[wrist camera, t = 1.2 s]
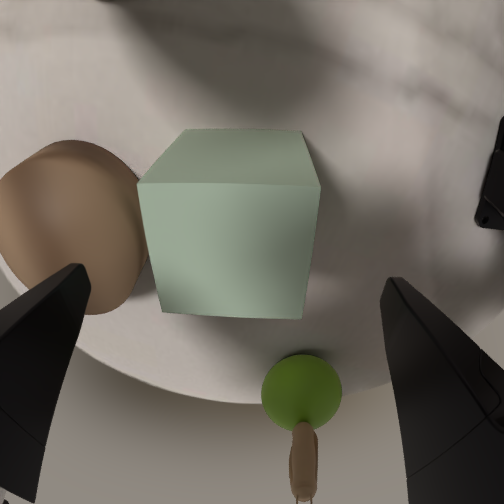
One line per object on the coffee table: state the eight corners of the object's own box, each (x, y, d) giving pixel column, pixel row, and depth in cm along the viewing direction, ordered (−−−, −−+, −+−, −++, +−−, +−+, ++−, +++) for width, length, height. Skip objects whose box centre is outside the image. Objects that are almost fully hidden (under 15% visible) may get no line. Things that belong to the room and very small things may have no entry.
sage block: (300, 130, 13) (320, 187, 8) (292, 229, 16) (301, 319, 11) (185, 129, 13) (136, 183, 8) (192, 225, 16) (162, 312, 11)
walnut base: (142, 131, 13) (115, 153, 11) (165, 284, 19) (152, 322, 16) (6, 150, 14) (-28, 172, 11) (46, 275, 19) (25, 305, 16)
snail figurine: (339, 324, 20) (363, 511, 10) (335, 377, 24) (349, 523, 14) (254, 332, 21) (244, 519, 11) (267, 383, 24) (262, 528, 15)
